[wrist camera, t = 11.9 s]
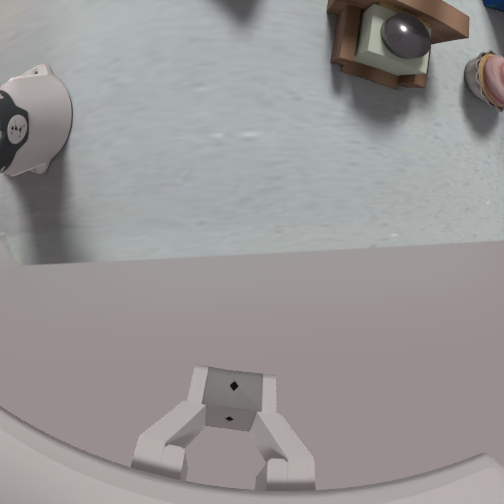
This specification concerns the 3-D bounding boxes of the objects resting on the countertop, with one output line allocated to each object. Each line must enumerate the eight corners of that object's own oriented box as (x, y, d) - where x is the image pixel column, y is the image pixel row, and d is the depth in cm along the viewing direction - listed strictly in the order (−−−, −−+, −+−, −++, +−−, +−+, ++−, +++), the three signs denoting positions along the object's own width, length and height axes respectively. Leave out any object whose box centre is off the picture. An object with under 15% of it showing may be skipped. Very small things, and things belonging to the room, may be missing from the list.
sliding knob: (347, 59, 28) (374, 47, 20) (353, 20, 25) (380, -2, 17) (396, 75, 29) (435, 73, 20) (402, 37, 26) (440, 25, 17)
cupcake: (490, 118, 29) (532, 130, 20) (451, 88, 28) (494, 92, 20) (501, 72, 24) (542, 76, 16) (462, 39, 24) (504, 34, 15)
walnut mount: (317, 65, 30) (337, 53, 20) (329, -6, 24) (350, -39, 14) (415, 96, 30) (460, 102, 20) (424, 29, 24) (469, 16, 15)
